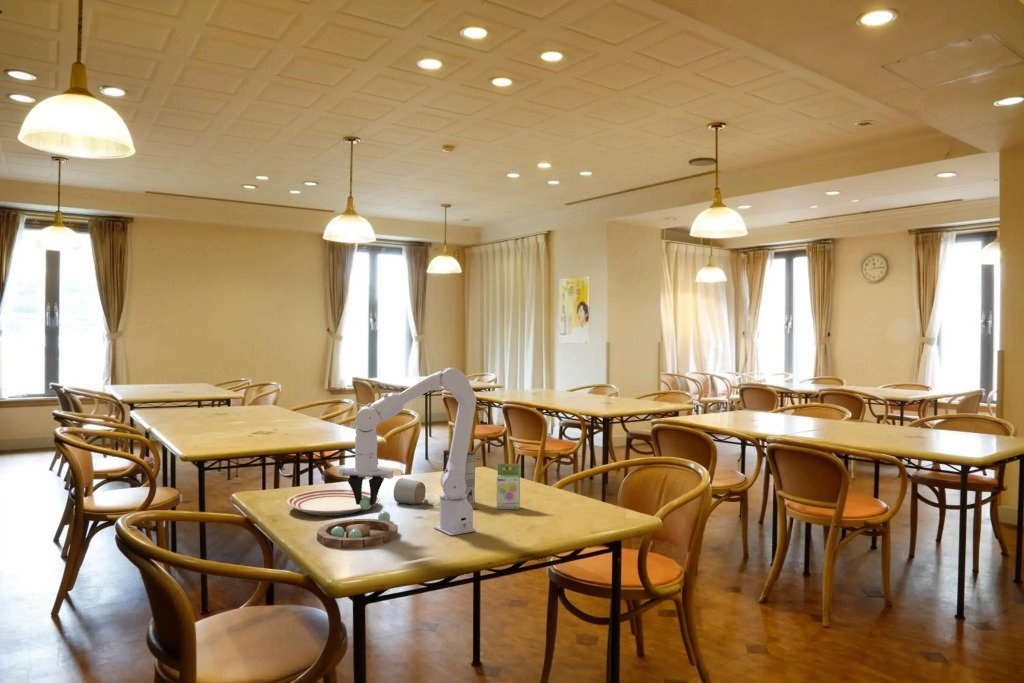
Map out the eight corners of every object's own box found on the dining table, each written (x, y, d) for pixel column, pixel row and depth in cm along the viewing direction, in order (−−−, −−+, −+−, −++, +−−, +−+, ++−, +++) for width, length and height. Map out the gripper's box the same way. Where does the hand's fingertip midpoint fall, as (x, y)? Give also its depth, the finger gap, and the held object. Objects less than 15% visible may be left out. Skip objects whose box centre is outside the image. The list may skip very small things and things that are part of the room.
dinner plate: (397, 503, 223) (397, 493, 223) (341, 524, 198) (341, 512, 198) (327, 495, 234) (327, 485, 234) (267, 513, 209) (267, 502, 209)
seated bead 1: (346, 540, 180) (346, 527, 180) (333, 542, 178) (333, 529, 178) (341, 537, 183) (341, 524, 183) (328, 539, 181) (328, 526, 181)
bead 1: (374, 508, 190) (374, 495, 190) (369, 511, 187) (369, 498, 187) (362, 507, 191) (362, 495, 191) (357, 510, 187) (357, 497, 187)
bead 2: (392, 523, 198) (392, 511, 198) (381, 525, 196) (381, 513, 196) (387, 521, 201) (387, 509, 201) (375, 523, 199) (376, 511, 199)
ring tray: (410, 541, 181) (410, 530, 181) (335, 555, 169) (335, 543, 169) (377, 524, 197) (377, 513, 197) (307, 535, 186) (307, 524, 186)
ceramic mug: (416, 507, 218) (416, 482, 218) (392, 504, 220) (393, 480, 220) (431, 500, 228) (431, 476, 228) (408, 498, 230) (408, 474, 230)
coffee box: (442, 500, 227) (442, 450, 226) (458, 497, 231) (458, 448, 231) (459, 505, 220) (459, 453, 220) (475, 502, 224) (476, 451, 224)
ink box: (496, 509, 215) (496, 465, 215) (497, 506, 219) (497, 463, 219) (519, 510, 215) (519, 466, 215) (519, 506, 219) (520, 463, 218)
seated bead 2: (364, 543, 177) (364, 529, 177) (351, 545, 176) (351, 531, 175) (358, 540, 180) (358, 526, 180) (346, 542, 178) (346, 528, 178)
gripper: (397, 451, 191) (396, 501, 191) (346, 450, 194) (346, 499, 194) (388, 456, 184) (387, 508, 184) (335, 454, 187) (335, 505, 187)
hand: (365, 504), depth 189 cm, fingers closed on bead 1, 3 cm apart
